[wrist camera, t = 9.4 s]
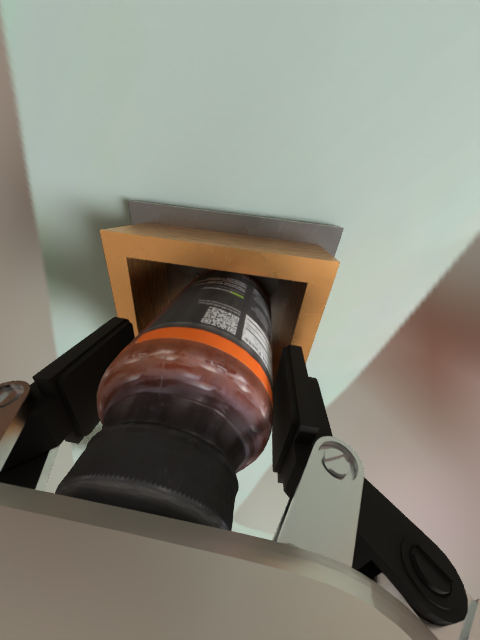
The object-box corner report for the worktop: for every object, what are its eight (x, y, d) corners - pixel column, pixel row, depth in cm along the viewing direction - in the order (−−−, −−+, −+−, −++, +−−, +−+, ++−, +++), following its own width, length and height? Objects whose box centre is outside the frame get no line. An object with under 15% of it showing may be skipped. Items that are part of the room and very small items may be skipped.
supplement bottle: (198, 347, 16) (89, 563, 7) (174, 272, 14) (-76, 447, 4) (276, 341, 15) (285, 594, 5) (266, 258, 12) (246, 459, 3)
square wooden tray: (138, 201, 13) (70, 199, 8) (338, 226, 12) (376, 238, 8) (155, 355, 19) (121, 401, 14) (291, 378, 18) (298, 433, 14)
